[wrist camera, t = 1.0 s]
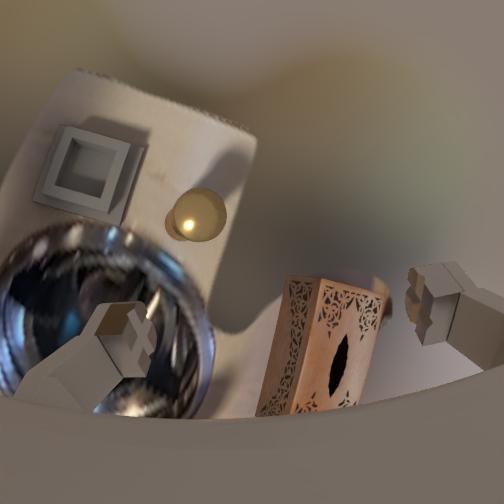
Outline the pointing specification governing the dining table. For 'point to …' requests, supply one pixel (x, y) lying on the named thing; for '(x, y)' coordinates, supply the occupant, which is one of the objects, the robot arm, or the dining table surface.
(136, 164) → the socket block
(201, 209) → the gold stepped cylinder
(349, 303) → the tissue box cover
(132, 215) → the dining table surface
